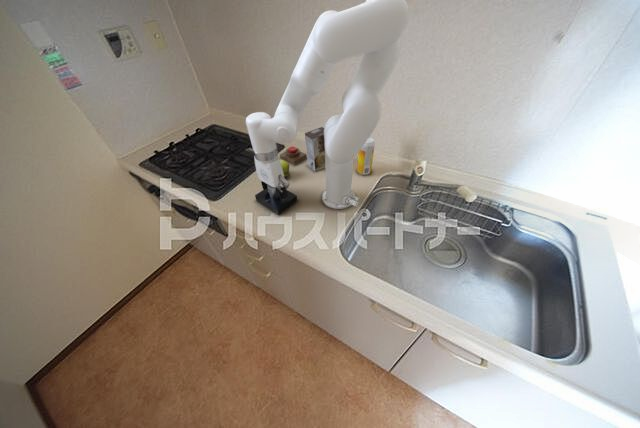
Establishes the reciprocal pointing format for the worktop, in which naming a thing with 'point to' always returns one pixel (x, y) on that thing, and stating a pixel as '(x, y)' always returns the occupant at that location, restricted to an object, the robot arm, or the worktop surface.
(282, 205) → the plate
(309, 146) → the coffee box
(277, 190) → the tap knob
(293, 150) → the drain button
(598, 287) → the worktop surface
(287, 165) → the apple
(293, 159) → the switch block
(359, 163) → the beer can
